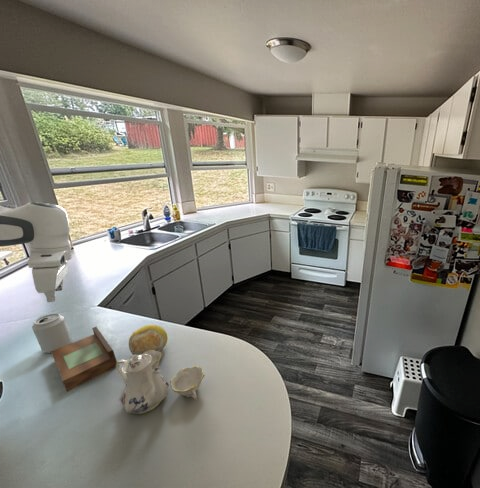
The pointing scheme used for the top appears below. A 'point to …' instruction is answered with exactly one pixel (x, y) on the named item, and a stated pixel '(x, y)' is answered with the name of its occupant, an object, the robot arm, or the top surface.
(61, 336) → the can
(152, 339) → the fruit
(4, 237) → the robot arm
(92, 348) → the wooden box
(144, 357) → the chinaware
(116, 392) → the top surface
